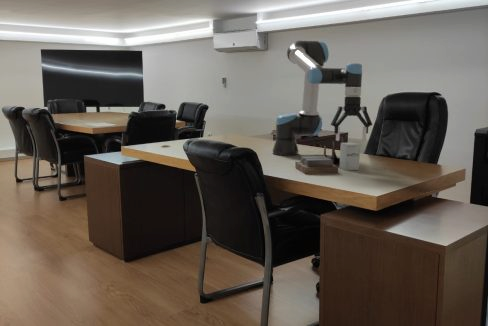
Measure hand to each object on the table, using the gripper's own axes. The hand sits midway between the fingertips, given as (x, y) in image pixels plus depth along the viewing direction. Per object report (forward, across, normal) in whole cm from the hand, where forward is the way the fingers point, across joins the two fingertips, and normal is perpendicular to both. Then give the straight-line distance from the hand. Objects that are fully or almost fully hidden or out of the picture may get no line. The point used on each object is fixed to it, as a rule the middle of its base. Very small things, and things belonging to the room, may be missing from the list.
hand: (350, 140), depth 232 cm
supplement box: (+14, 0, 0) cm, 14 cm away
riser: (+14, -18, -2) cm, 23 cm away
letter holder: (+14, -2, +18) cm, 23 cm away
